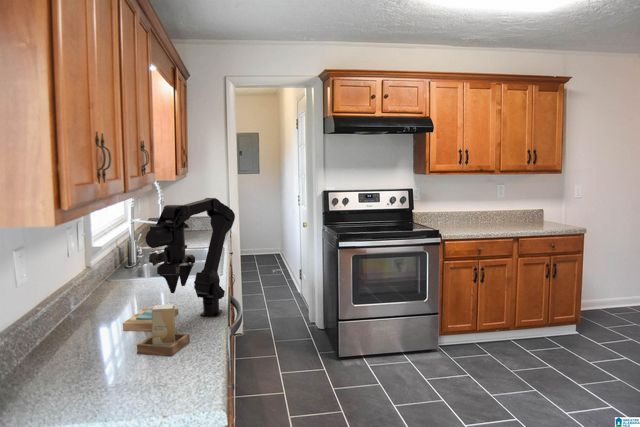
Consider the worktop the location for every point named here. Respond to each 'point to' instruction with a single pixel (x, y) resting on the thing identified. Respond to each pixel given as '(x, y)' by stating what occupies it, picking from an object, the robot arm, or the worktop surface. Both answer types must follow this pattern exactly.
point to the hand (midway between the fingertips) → (178, 289)
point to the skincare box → (163, 325)
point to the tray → (149, 348)
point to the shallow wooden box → (141, 320)
